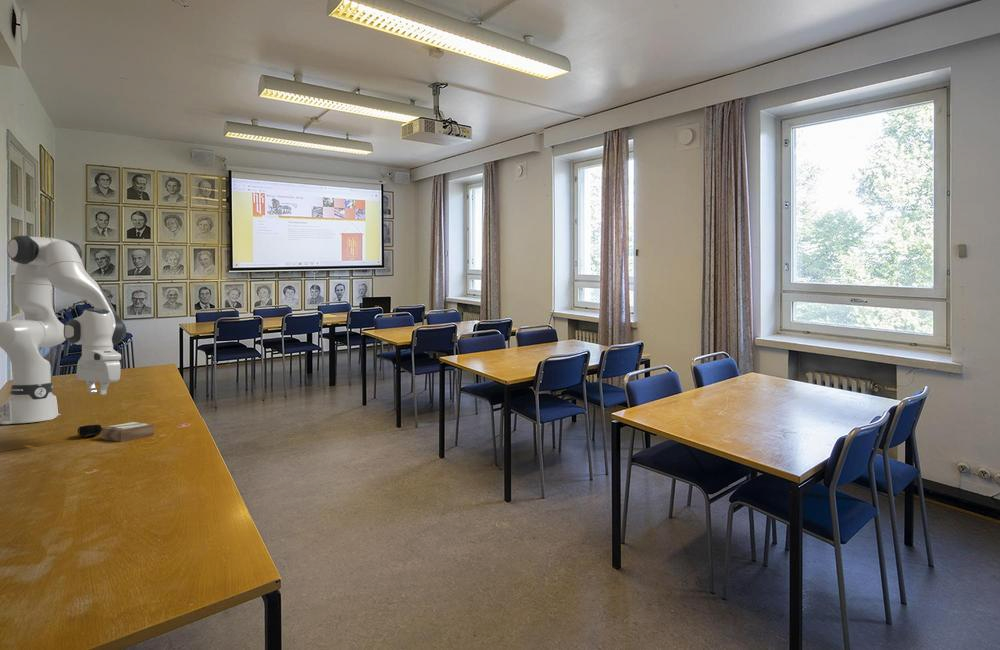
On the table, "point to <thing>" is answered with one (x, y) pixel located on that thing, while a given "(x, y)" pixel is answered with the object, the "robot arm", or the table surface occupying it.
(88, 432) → the tape measure
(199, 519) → the table surface
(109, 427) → the brown white square block
